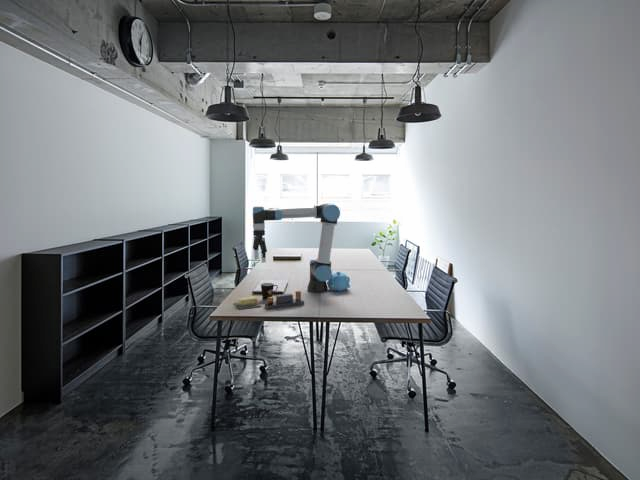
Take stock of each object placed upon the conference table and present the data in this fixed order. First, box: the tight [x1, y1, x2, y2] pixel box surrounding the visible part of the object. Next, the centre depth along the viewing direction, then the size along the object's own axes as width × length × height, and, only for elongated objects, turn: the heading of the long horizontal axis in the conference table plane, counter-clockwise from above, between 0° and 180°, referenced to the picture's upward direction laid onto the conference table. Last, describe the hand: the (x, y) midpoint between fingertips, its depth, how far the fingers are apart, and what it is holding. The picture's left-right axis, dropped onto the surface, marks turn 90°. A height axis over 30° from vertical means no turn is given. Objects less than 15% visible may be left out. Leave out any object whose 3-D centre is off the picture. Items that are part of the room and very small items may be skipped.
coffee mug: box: [260, 282, 279, 301], centre depth 256 cm, size 12×9×10 cm
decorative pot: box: [326, 271, 351, 292], centre depth 282 cm, size 16×16×14 cm
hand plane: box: [264, 290, 305, 310], centre depth 240 cm, size 24×7×8 cm, turn 117°
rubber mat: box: [233, 301, 262, 311], centre depth 240 cm, size 14×14×1 cm
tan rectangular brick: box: [237, 295, 258, 307], centre depth 240 cm, size 11×6×4 cm, turn 117°
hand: (260, 260), depth 255 cm, fingers open, 13 cm apart
